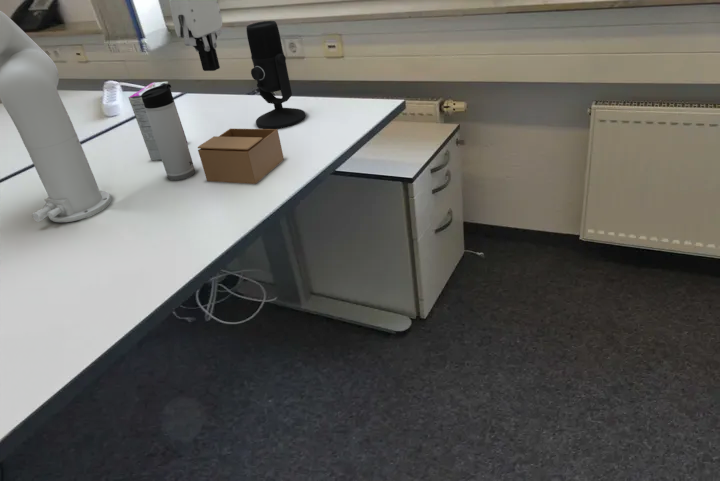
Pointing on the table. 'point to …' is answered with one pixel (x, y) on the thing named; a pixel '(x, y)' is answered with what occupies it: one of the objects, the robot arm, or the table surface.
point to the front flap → (230, 143)
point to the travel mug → (168, 132)
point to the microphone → (271, 75)
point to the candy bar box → (146, 121)
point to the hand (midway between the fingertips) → (211, 69)
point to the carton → (243, 158)
